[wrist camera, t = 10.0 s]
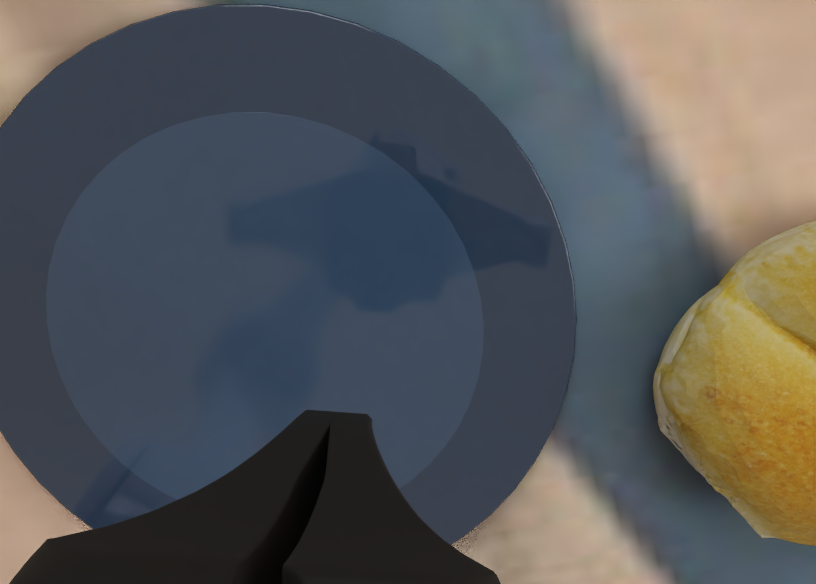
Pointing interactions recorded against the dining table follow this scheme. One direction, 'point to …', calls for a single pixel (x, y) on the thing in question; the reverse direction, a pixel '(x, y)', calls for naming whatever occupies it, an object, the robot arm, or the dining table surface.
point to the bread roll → (751, 386)
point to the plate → (272, 265)
